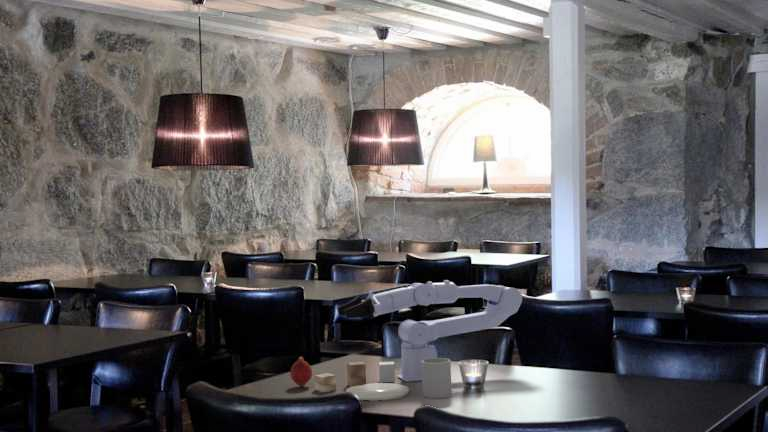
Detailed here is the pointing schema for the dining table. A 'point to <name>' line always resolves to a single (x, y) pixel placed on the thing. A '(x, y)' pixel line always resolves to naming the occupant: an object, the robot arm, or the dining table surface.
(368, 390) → the plate
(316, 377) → the oak block
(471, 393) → the dining table surface
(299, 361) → the onion
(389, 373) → the grey block
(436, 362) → the cup
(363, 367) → the walnut block
